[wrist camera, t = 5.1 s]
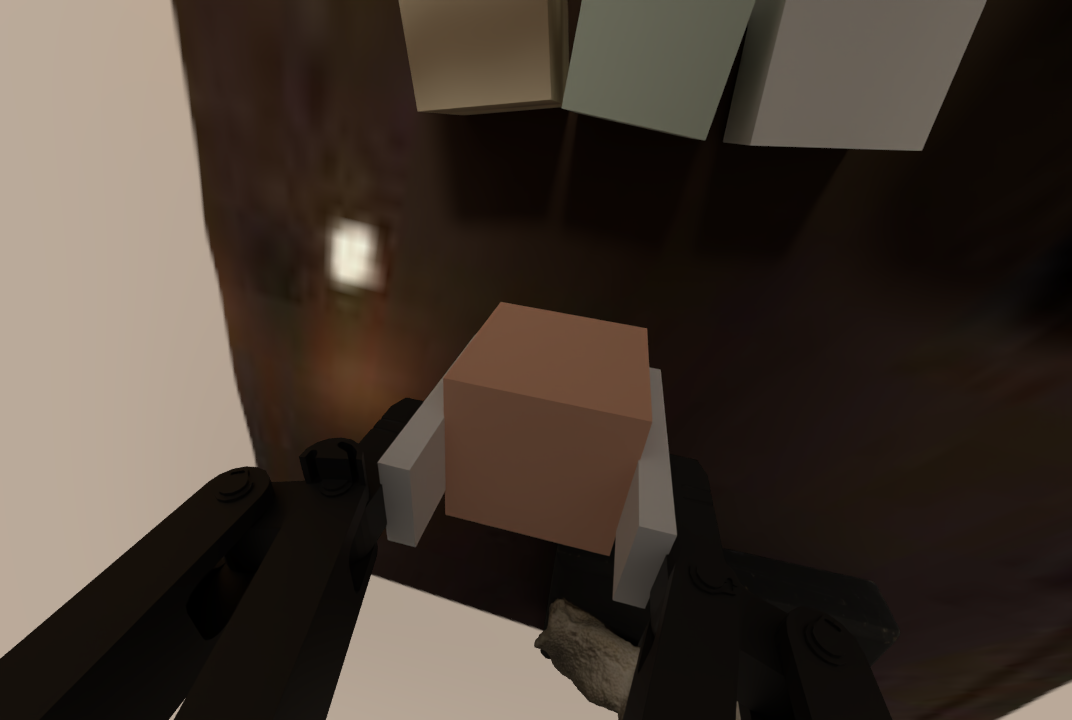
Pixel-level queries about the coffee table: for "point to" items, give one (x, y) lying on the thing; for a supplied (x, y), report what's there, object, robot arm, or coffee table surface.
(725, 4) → the sage cube
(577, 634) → the coral
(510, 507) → the terracotta cube
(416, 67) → the maple cube
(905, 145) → the offwhite cube
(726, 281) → the coffee table surface
